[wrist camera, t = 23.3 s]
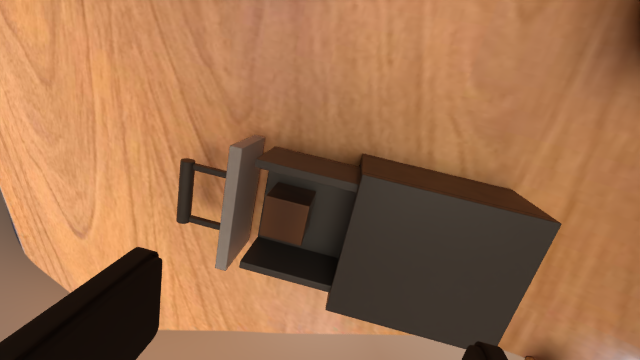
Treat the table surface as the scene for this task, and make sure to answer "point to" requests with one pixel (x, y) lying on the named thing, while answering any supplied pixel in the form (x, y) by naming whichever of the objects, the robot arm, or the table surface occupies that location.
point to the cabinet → (437, 254)
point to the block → (287, 213)
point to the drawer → (238, 205)
